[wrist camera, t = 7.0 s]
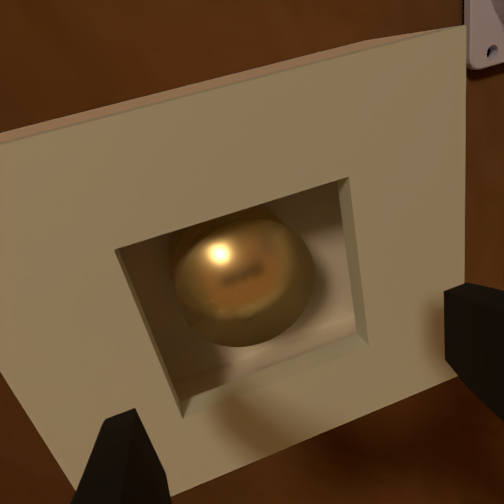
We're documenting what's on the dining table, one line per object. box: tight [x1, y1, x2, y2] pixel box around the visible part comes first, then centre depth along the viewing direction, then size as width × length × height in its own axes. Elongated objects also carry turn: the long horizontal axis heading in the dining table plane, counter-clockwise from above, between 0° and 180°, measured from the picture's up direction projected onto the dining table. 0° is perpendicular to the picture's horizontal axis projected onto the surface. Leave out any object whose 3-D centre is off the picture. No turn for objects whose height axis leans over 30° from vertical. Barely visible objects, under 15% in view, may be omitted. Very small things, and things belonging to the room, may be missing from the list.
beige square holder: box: [0, 25, 466, 497], centre depth 14 cm, size 14×12×5 cm
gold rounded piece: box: [169, 203, 315, 347], centre depth 15 cm, size 4×4×3 cm
